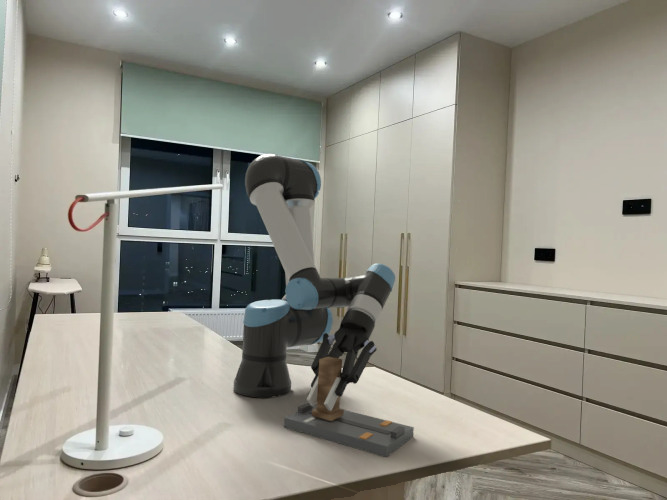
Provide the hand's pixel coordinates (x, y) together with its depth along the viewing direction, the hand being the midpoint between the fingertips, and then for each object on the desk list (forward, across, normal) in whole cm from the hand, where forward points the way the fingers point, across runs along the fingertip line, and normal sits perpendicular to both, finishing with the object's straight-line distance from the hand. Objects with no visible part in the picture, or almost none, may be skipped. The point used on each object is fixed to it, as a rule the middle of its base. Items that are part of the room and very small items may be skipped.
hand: (318, 404), depth 106 cm
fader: (0, 0, -5) cm, 5 cm away
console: (+1, -5, -6) cm, 8 cm away
